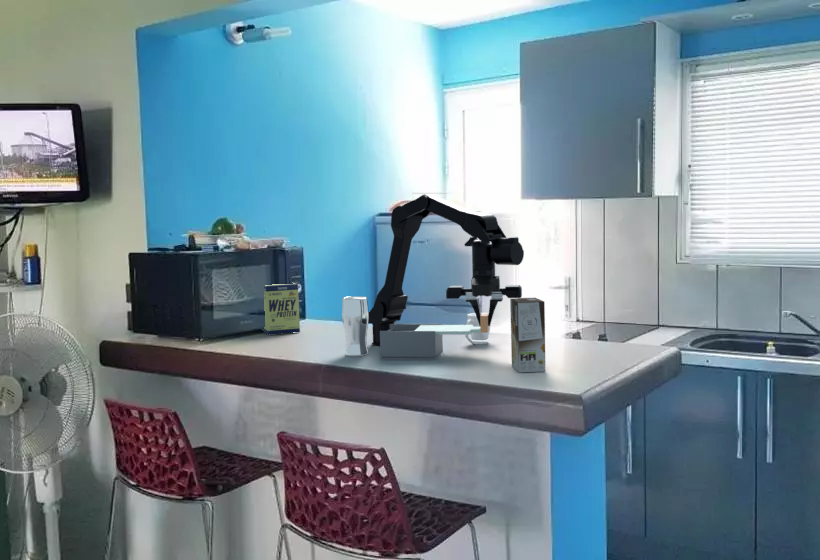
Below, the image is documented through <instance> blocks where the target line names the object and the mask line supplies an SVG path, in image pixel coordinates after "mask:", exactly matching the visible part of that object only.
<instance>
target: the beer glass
mask: <svg viewBox="0 0 820 560" xmlns="http://www.w3.org/2000/svg"><path fill="white" fill-rule="evenodd" d="M369 312H370V311H369V302H368V297H367V296H360V295H359V296H358V295H357V296H345V297H342V301H341V317H342V318H341V320H342V325H343V330H344V334H345V342H346V345H345V346H346V347H345V352H344V353H345V354H344V355H345V356H347V357H363V356H367V355H369V349H368V344H367V337H368V328H369V323H368V320H369Z"/></svg>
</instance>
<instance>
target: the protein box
mask: <svg viewBox="0 0 820 560" xmlns="http://www.w3.org/2000/svg"><path fill="white" fill-rule="evenodd" d="M292 283H293V284H272V285H265V286H264V311H265V327H264V332H265V333H266V335H267V334H268V335H267V336H270V335H269V334H278V335H282V334H281V333H290V334H294V333H293V332H301V327H300V326H301V325H300V301H299V299H300V298H299V284H298V283H295V282H292ZM264 332H263V333H264ZM265 333H264V334H265Z"/></svg>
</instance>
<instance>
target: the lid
mask: <svg viewBox="0 0 820 560" xmlns="http://www.w3.org/2000/svg"><path fill="white" fill-rule="evenodd" d="M481 313H482V314H481V316H480V327H474V325H466V324H442V325H420V326H419V327H418V328H417V329H416V330H415V331H435V335H442V336H445V335H448V336H449V335H451V336H453V335H464V336H465V335H468V336H469V335H471V334H470V333H488V331H489V326H488V316H489V312H481Z"/></svg>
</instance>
